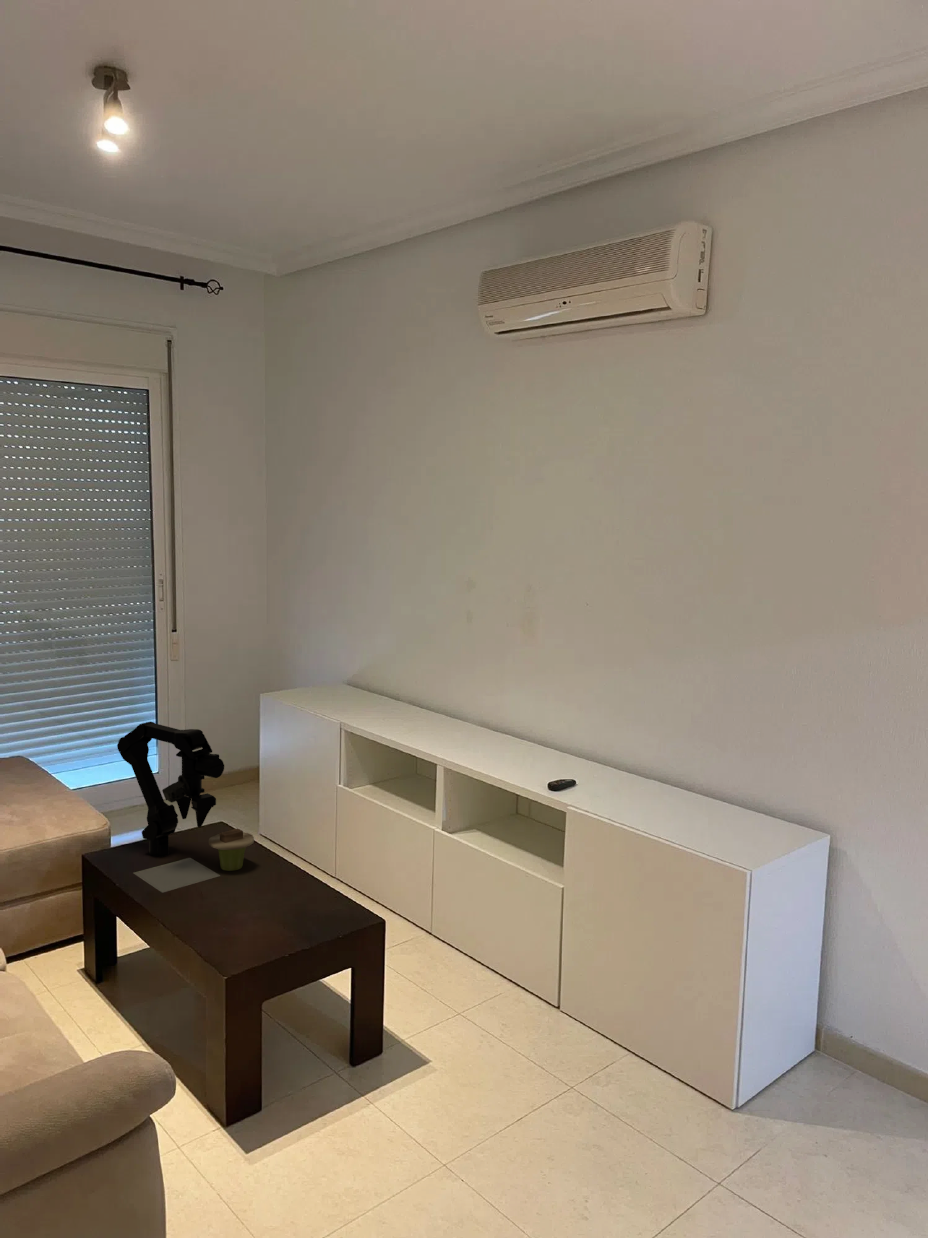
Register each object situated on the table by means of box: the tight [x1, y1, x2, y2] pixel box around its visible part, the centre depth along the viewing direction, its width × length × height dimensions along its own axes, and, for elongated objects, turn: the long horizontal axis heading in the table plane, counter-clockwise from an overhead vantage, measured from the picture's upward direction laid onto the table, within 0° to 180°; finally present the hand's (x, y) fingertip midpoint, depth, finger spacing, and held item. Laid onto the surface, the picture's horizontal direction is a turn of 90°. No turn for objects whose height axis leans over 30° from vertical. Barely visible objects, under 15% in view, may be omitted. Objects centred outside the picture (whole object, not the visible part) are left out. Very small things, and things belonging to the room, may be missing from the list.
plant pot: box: [217, 847, 247, 872], centre depth 269 cm, size 9×9×9 cm
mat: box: [133, 857, 221, 894], centre depth 262 cm, size 18×18×1 cm
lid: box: [208, 828, 255, 850], centre depth 268 cm, size 13×13×3 cm
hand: (191, 823), depth 270 cm, fingers open, 9 cm apart
